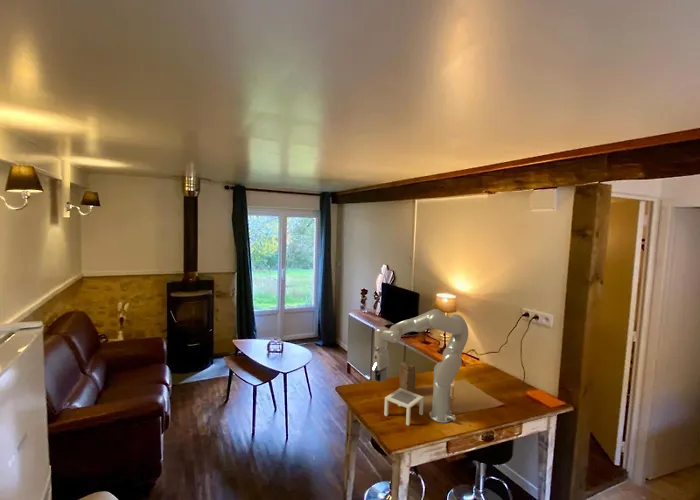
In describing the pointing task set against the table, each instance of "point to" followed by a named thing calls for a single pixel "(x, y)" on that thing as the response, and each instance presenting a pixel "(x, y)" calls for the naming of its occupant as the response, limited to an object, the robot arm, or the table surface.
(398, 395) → the trapdoor
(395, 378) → the table surface
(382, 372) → the stone
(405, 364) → the block
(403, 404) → the frame
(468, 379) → the table surface
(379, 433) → the table surface
